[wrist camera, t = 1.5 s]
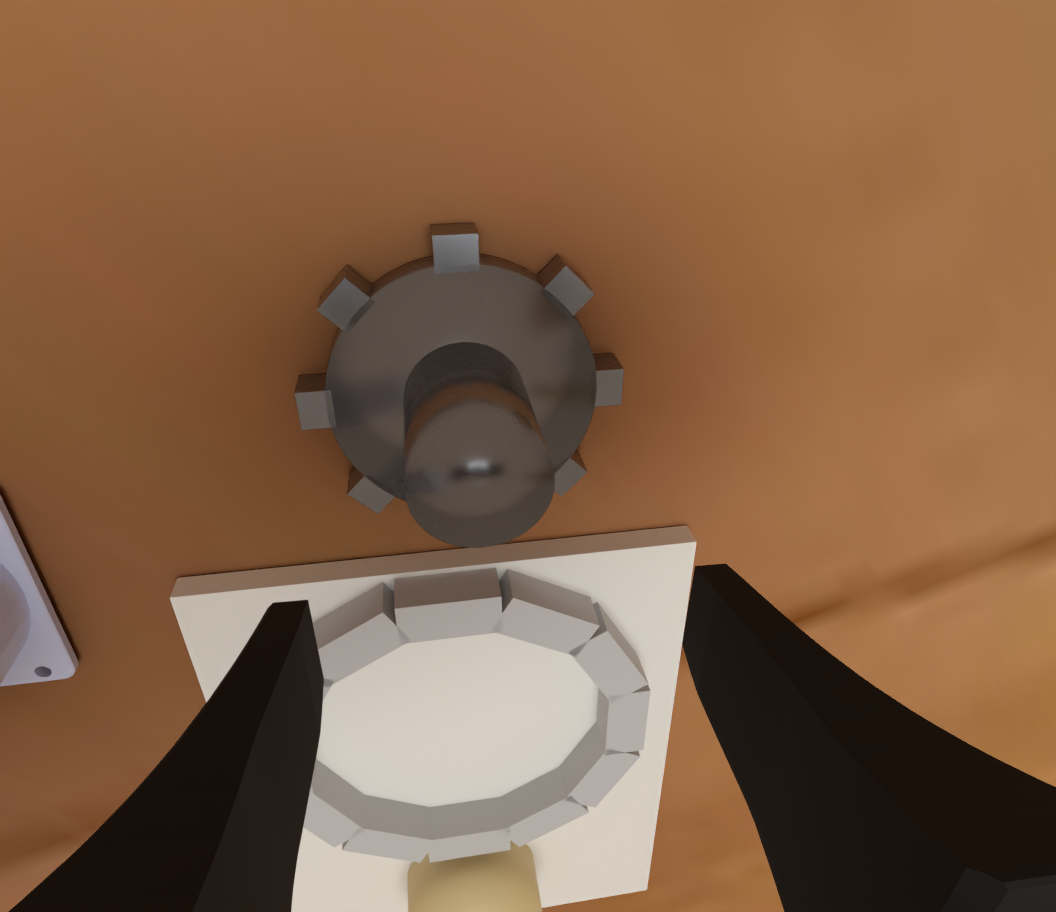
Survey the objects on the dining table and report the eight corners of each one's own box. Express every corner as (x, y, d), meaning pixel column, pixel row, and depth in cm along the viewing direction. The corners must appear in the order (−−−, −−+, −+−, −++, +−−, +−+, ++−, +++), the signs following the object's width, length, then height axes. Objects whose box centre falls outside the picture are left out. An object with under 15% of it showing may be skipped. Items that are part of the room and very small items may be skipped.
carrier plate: (295, 928, 36) (285, 1021, 33) (177, 577, 24) (142, 667, 21) (641, 871, 39) (664, 952, 35) (687, 525, 27) (729, 598, 23)
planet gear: (326, 522, 24) (308, 655, 19) (272, 231, 19) (227, 307, 14) (605, 495, 25) (657, 613, 20) (621, 216, 21) (695, 280, 15)
